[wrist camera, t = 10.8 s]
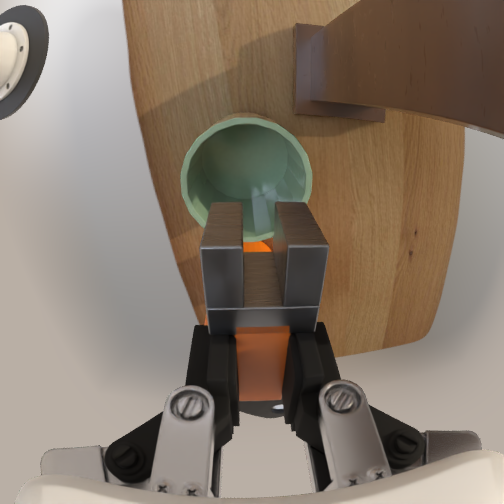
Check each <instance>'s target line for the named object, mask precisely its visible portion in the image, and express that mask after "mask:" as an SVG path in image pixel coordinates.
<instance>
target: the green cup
mask: <svg viewBox="0 0 504 504" xmlns="http://www.w3.org/2000/svg"><path fill="white" fill-rule="evenodd" d="M180 175H181V176H180V179H181V191H182V197H183V199H184V201H185V204H186V206H187V208H188V210H189V212H190V214H191V215H192V216H193V217H194V218H195V220H196V221H197V222H198V223H199V224H200V225H201V226H202V227H203V228H204V229H205V225H206V221H207V218H208V214H209V210H210V207H211V204H212V203H216V202H242V203H243V242H258V241H262V240H265V239H268V238H272V237H273V236H274V209H275V202H305V203H306V205H307V202H308V200H309V197H310V195H311V189H312V170H311V166H310V162H309V159H308V155H307V153H306V152H305V150H304V149H303V147H302V146H301V144H300V143H299V141H298V140H297V138H296V137H295V136H293V135H292V134H291V133H289V132H288V131H287V130H285V129H284V128H283V127H281V126H280V125H279V124H277V123H276V122H274V121H272V120H271V119H269V118H268V117H265V116H262V115H259V114H256V113H252V112H250V113H248V112H242V113H234V114H231V115H228V116H225V117H223V118H221V119H219V120H218V121H217V122H215V123H214V124H213V125H211V126H210V127H209V128H208V129H207V130H206V131H204V132H203V133H202V134H201V135H200V136H199V137H198V138H197V139H196V140H195V142H194V143H193V145H192V146H191V148H190V149H189V151H188V152H187V154H186V156H185V159H184V162H183V166H182V170H181V174H180Z"/></svg>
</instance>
